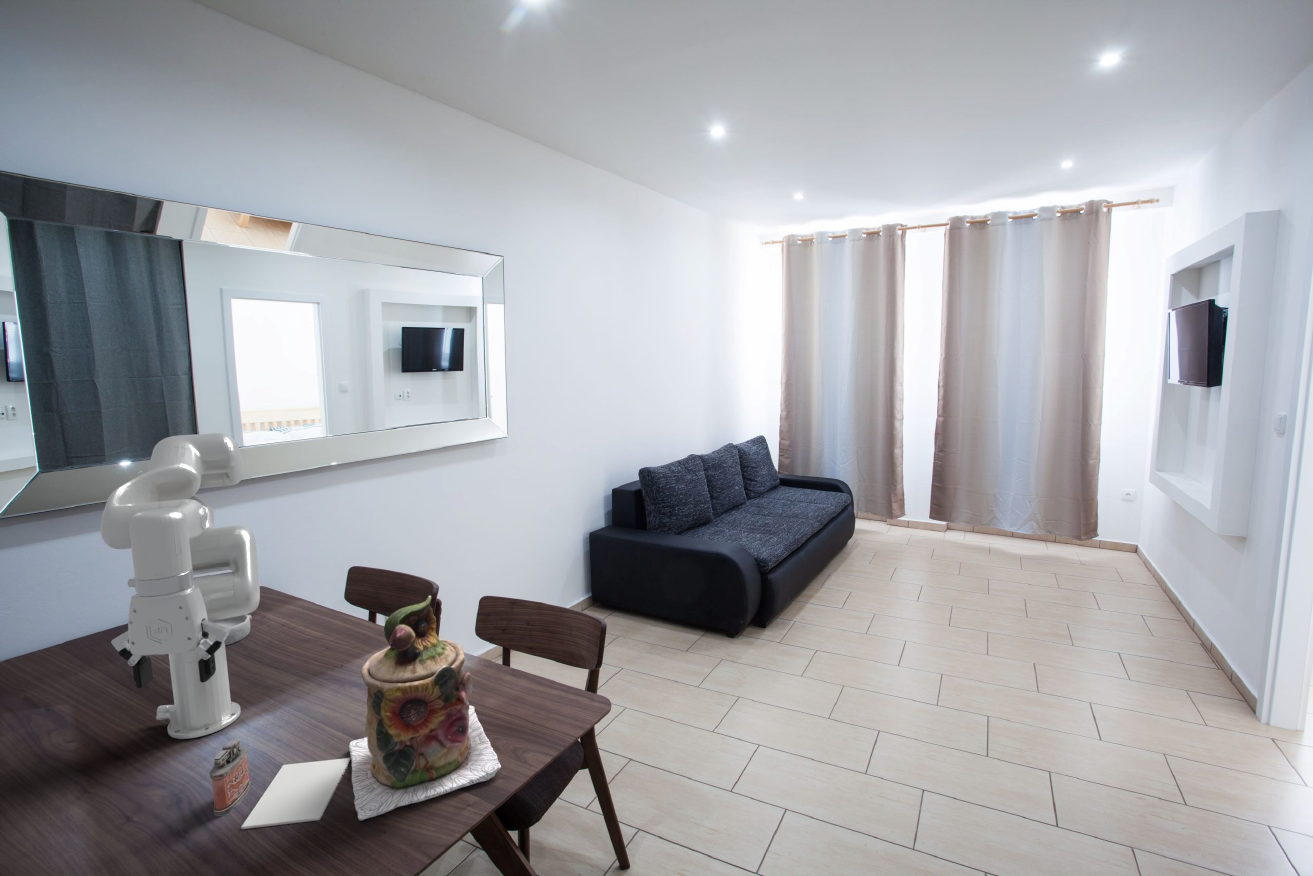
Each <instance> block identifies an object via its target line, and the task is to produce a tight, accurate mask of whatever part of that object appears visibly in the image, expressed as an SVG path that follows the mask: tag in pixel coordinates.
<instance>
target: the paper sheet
mask: <svg viewBox="0 0 1313 876" xmlns="http://www.w3.org/2000/svg"><path fill="white" fill-rule="evenodd" d="M350 760H351V757H346V758H337V759H327V760H318V761H309V762H299V763H289V764H288V763H287V764H283V765H282V766H281V768H280V769H279V771H278V772H277V774H276V775H274V776H275V777H274V778H273V779H272V781H271V783H270V784H269V785H268V787H267V788H266V790H265V791H264V793H263V794H262V796H261V797H260V798H259V800H258V802H257V803H256V805H255V806H254V807H253V809H252V811H251V812H250V813H249V815H248V816H247V818H246V819H245V821H244V822H243V824H242V825H241V828H240V829H241V830H246V829H255V828H264V827H271V826H278V825H288V824H296V823H305V822H306V823H307V822H312V821H313V822H314V821H320V820H321V818H322V816H323V815H324V813H325V810H326V809H327V808H328V806H329V803H330V801H331V800H332V798H333V795H334V794H335V792H336V789H337V788H338V786H339V784H340V782H341V780H342V778H343V776H344V774H345V772H346V770H347V769H348V766H349V765H348V764H350V763H349V762H351V761H352V760H351V761H350ZM345 769H346V770H345ZM342 775H343V776H342ZM338 783H339V784H338Z"/></svg>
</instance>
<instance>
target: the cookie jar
mask: <svg viewBox="0 0 1313 876" xmlns="http://www.w3.org/2000/svg"><path fill="white" fill-rule="evenodd" d="M431 601H432V595H428V596H427V598H426V600H424V601H422V602H420V603H417V604H413V605H409V606H405V607H401V608H399V609H397V610H396V611H394V612H392V613H391V614H390V615H389V616H388V617H387V618H386V621H385V623H384V627H383V631H384V637H385V640H386V641H387V643H388V645H389V646H387V647H385V648H383V649H382V650H380V651H378V652H375V653H374V654H372V655H371V656H370V657H369V658H368V659H367V660H366V662H365V663H364V664H363V665H362V667H361V670H360V675H361V679H362V682H364V685H365V686H366V688H367V698H366V709H367V711H366V717H365V718H366V719H365V733H366V737H362V738H358V739H354V740H352V741H350V742H349V744H348V745H349V746H348V749H349V754H350V758H351V784H352V787H353V788H352V790H353V791H352V793H353V794H354V795H353V796H354V800H353V803H354V809H355V810H356V813H357V818H358V820H359V821H361V822H362V821H364V820H366V819H369V818H373V817H376V816H377V817H378V816H380V815H383V814H385V813H387V812H390V811H393V810H394V809H396V808H399V807H403V806H408V805H410V804H414V803H415V804H416V803H420V802H423V801H426V800H430V799H433V798H436V797H440V796H441V795H442V796H443V795H445V794H448V793H451V792H453V791H457V790H460V789H462V788H466V787H469V786H471V785H474V784H477V783H482V782H485V781H489V780H490V779H492V778H494V777H495V775H496V773H497V772H498V771H499V770H500V769H501V768H502V766H501V764H500V761H499V759H498V755H497V753H496V752H495V750H494V748H493V747H492V744H491V740H489V738H488V737H487V735H486V733H485V732H484V728H483V726H482V724H481V723H480V721H479V719H478V715H477V714H476V711H475V706H473V705H472V704H471V705H470V701H469V699H470V697H471V694H472V691H473V680H472V679H473V678H472V674H471V673H470V672H465V673H463V666H464V664H465V661H466V658H465V657H466V656H465V652H464V649H463V647H462V646H461V645H459V644H458V643H456V642H453V641H451V640H448V639H444V638H439V636H438V635H437V631H436V630H437V622H436V621H437V618H436V616H435V615H434V612H433V611H434V610H433V608H432V607H431Z"/></svg>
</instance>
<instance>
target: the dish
mask: <svg viewBox="0 0 1313 876" xmlns="http://www.w3.org/2000/svg"><path fill="white" fill-rule="evenodd" d="M252 618H253V617H252V615H251V614H245V615H241V616H236V617H231V618H226V619H220V620H215V621H211V622H213V623H215V624H218V625H221V626H223V627H226V628H228V629H229V630H230V631H229V633H228V636H227V638H226V639H225V646H228V645H231V644H234V643H236V642H239V641H242V640H243V639H244V638H246V637H247V636H248V635H249V634H250V631H251V622H252V621H253V620H252Z"/></svg>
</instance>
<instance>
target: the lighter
mask: <svg viewBox="0 0 1313 876" xmlns="http://www.w3.org/2000/svg"><path fill="white" fill-rule="evenodd" d="M247 753H248V747H247V746H246V745H241V740H240V738H234V739H232V740H231V741H230V742H229V743H226V744H224V745H223V746H222V750H221V751H220V752H219V753H217V755H216V756H215V757H214V759H213V767H212V768H211V769H210V771H209V778H210V779H211V785H212V797H213V803H214V807H213V814H214V816H215V817H216V816H217V817H222V816H225V815H227V814H230V812H232V811H233V810H234V808H236V807H237V806H238V805H239V804H240V803H241V802H242V800H243V799H244V798H245V797H246V795H247V794H248V793H249V791H250V789H251V787H252V782H251V780H250V778H249V777H250V776H249V767H248V766H249V765H248V759H247V758H248V757H247Z"/></svg>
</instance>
